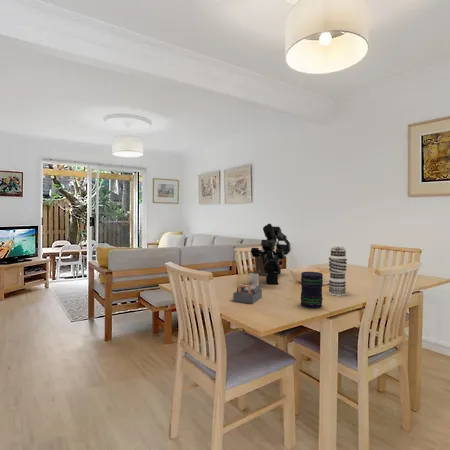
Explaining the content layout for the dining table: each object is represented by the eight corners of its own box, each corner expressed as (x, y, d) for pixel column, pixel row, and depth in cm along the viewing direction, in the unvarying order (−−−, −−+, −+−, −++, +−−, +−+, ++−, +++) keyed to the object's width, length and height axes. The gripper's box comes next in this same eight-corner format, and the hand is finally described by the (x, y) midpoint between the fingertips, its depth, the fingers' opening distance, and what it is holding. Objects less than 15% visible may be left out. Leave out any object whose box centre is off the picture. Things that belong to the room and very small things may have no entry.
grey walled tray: (243, 295, 171) (243, 283, 171) (261, 297, 167) (262, 285, 166) (233, 301, 159) (233, 288, 159) (252, 304, 155) (252, 291, 155)
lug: (239, 292, 161) (239, 284, 160) (250, 293, 158) (251, 285, 158) (238, 292, 159) (238, 284, 159) (250, 294, 157) (250, 286, 157)
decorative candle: (334, 296, 169) (335, 248, 168) (324, 292, 178) (325, 246, 177) (350, 295, 171) (351, 247, 170) (339, 291, 180) (340, 246, 179)
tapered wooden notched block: (250, 286, 172) (250, 273, 171) (258, 287, 170) (258, 273, 169) (243, 290, 163) (243, 276, 162) (251, 291, 161) (251, 277, 160)
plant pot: (249, 272, 232) (249, 249, 232) (270, 271, 237) (270, 249, 237) (258, 277, 217) (258, 252, 216) (280, 275, 222) (280, 252, 221)
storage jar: (306, 301, 161) (306, 270, 160) (325, 305, 154) (326, 273, 154) (296, 305, 153) (297, 273, 152) (316, 309, 147) (317, 276, 146)
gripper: (252, 233, 192) (244, 254, 182) (283, 235, 183) (277, 257, 174) (256, 245, 199) (249, 266, 190) (286, 247, 191) (281, 269, 181)
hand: (263, 265), depth 183 cm, fingers closed
